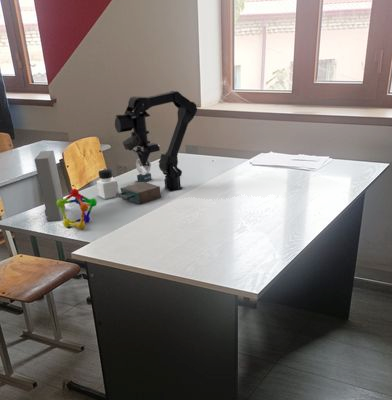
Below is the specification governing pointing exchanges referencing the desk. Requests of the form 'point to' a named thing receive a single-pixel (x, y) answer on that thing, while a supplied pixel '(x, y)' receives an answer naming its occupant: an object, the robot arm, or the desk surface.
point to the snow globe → (143, 176)
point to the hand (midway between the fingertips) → (144, 166)
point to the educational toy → (83, 208)
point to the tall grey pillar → (49, 184)
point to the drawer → (129, 195)
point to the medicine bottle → (107, 184)
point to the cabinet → (145, 191)
